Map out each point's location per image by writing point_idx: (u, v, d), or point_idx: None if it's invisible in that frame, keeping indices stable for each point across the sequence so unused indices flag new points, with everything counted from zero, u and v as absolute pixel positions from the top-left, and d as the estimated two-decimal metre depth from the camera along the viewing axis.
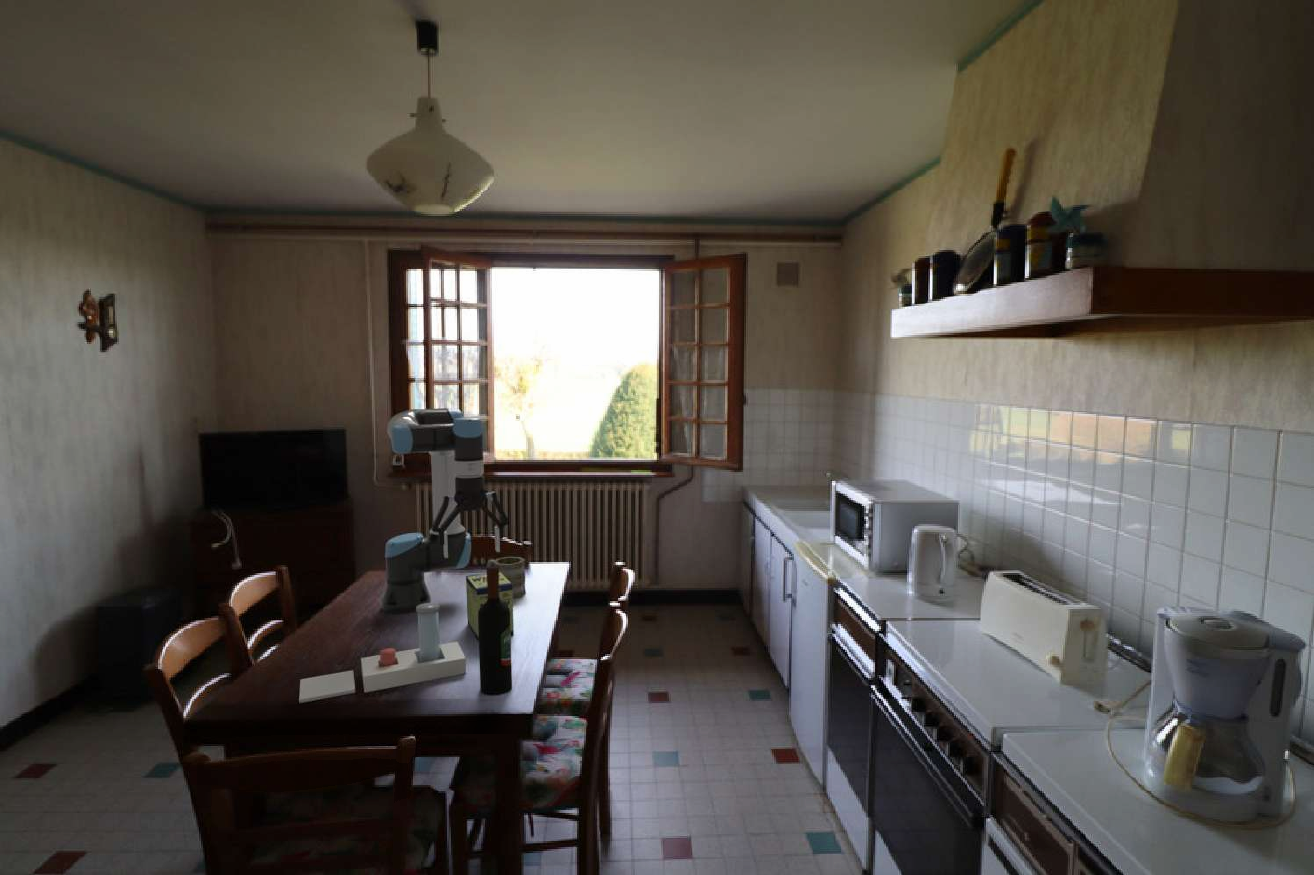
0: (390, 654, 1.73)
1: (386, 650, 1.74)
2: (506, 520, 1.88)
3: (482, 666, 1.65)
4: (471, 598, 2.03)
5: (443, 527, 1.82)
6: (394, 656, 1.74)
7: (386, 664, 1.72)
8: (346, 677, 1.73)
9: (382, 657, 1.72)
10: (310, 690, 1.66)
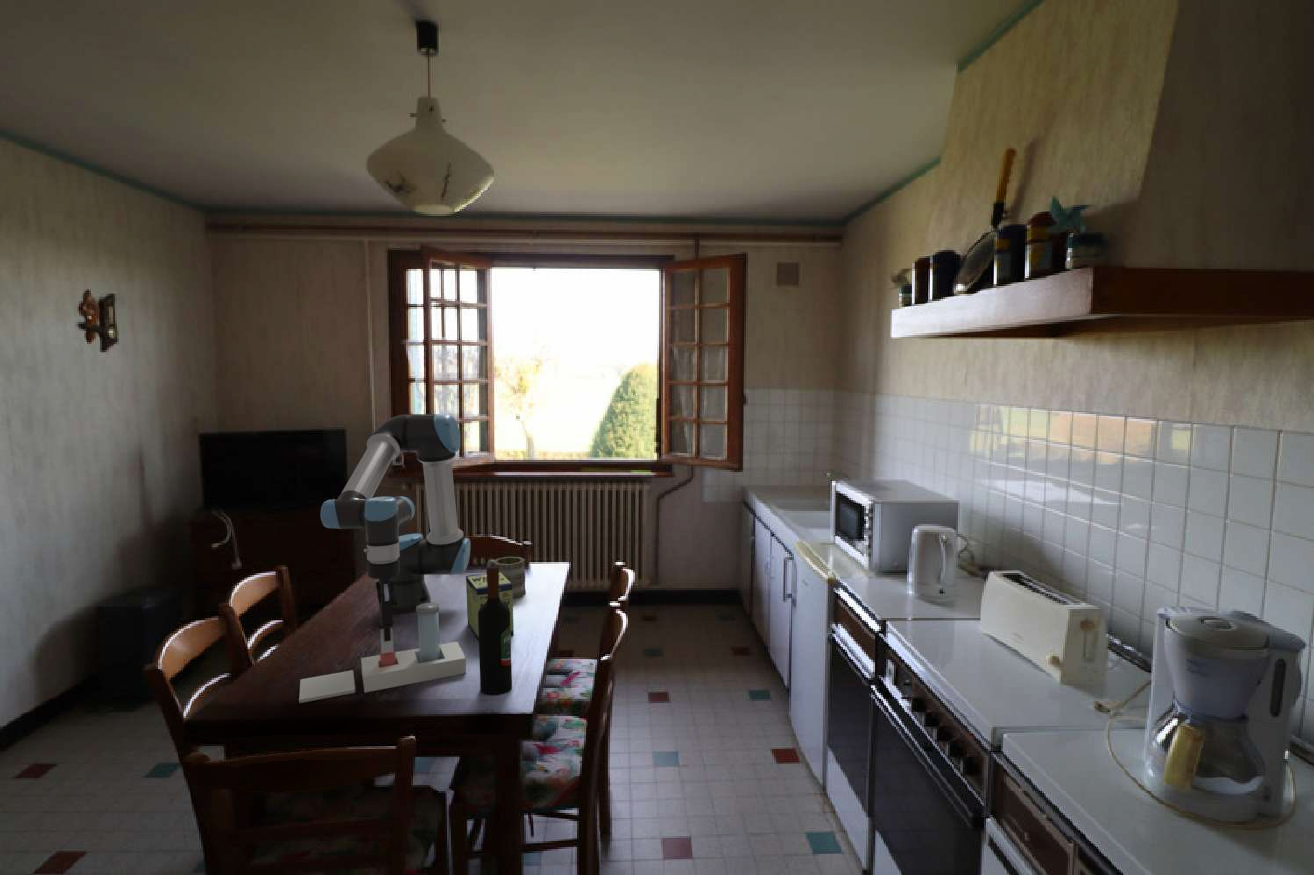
0: (390, 655, 1.73)
1: None
2: (382, 623, 1.70)
3: (482, 666, 1.65)
4: (471, 598, 2.03)
5: (380, 618, 1.74)
6: (394, 658, 1.74)
7: None
8: (346, 677, 1.73)
9: (382, 659, 1.72)
10: (310, 690, 1.66)
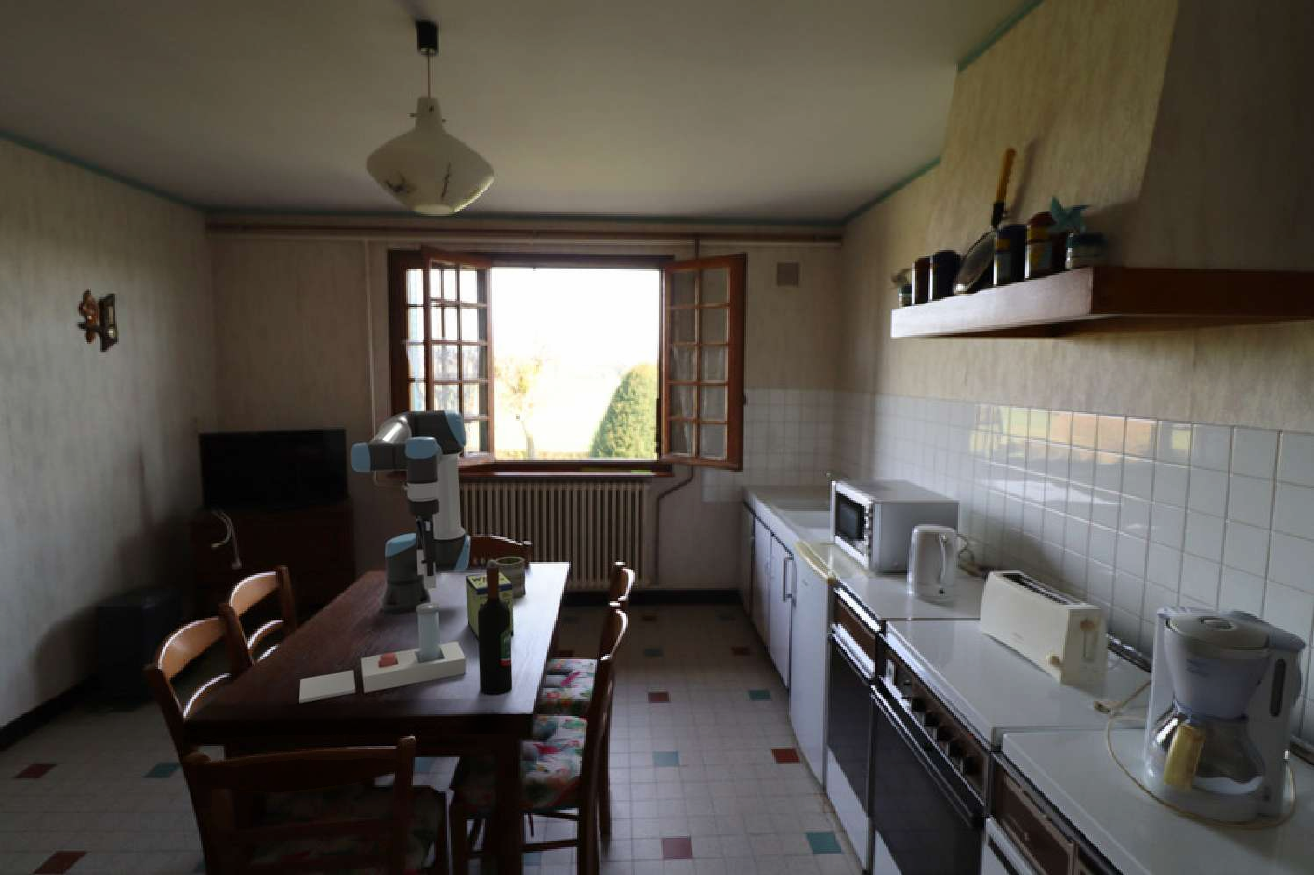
0: (391, 659, 1.73)
1: (387, 655, 1.74)
2: (425, 557, 1.67)
3: (482, 666, 1.65)
4: (471, 598, 2.03)
5: (417, 543, 1.82)
6: (394, 661, 1.74)
7: None
8: (346, 677, 1.73)
9: (382, 662, 1.73)
10: (310, 690, 1.66)
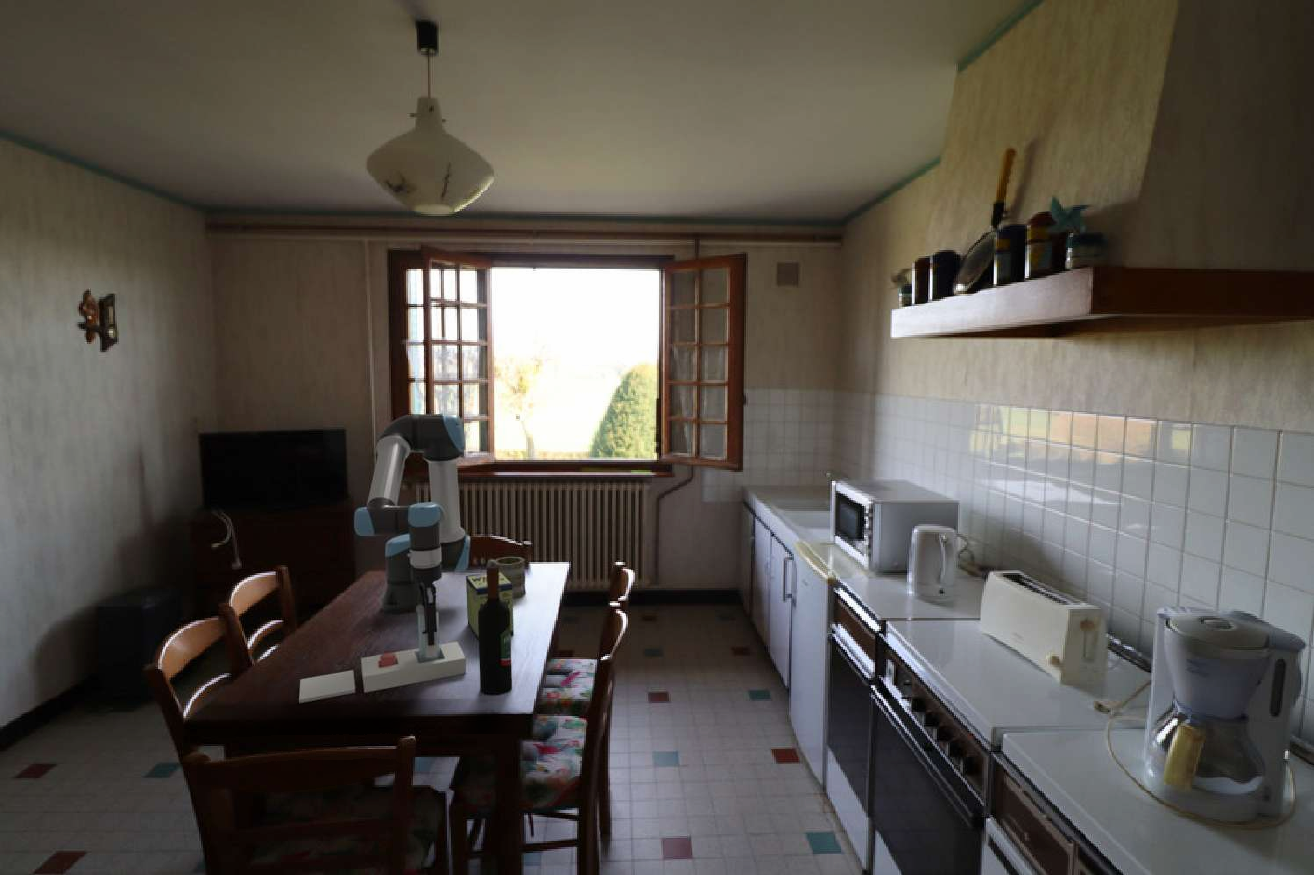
0: (391, 659, 1.73)
1: (387, 655, 1.74)
2: (426, 628, 1.72)
3: (482, 666, 1.65)
4: (471, 598, 2.03)
5: None
6: (394, 661, 1.74)
7: None
8: (346, 677, 1.73)
9: (382, 662, 1.73)
10: (310, 690, 1.66)
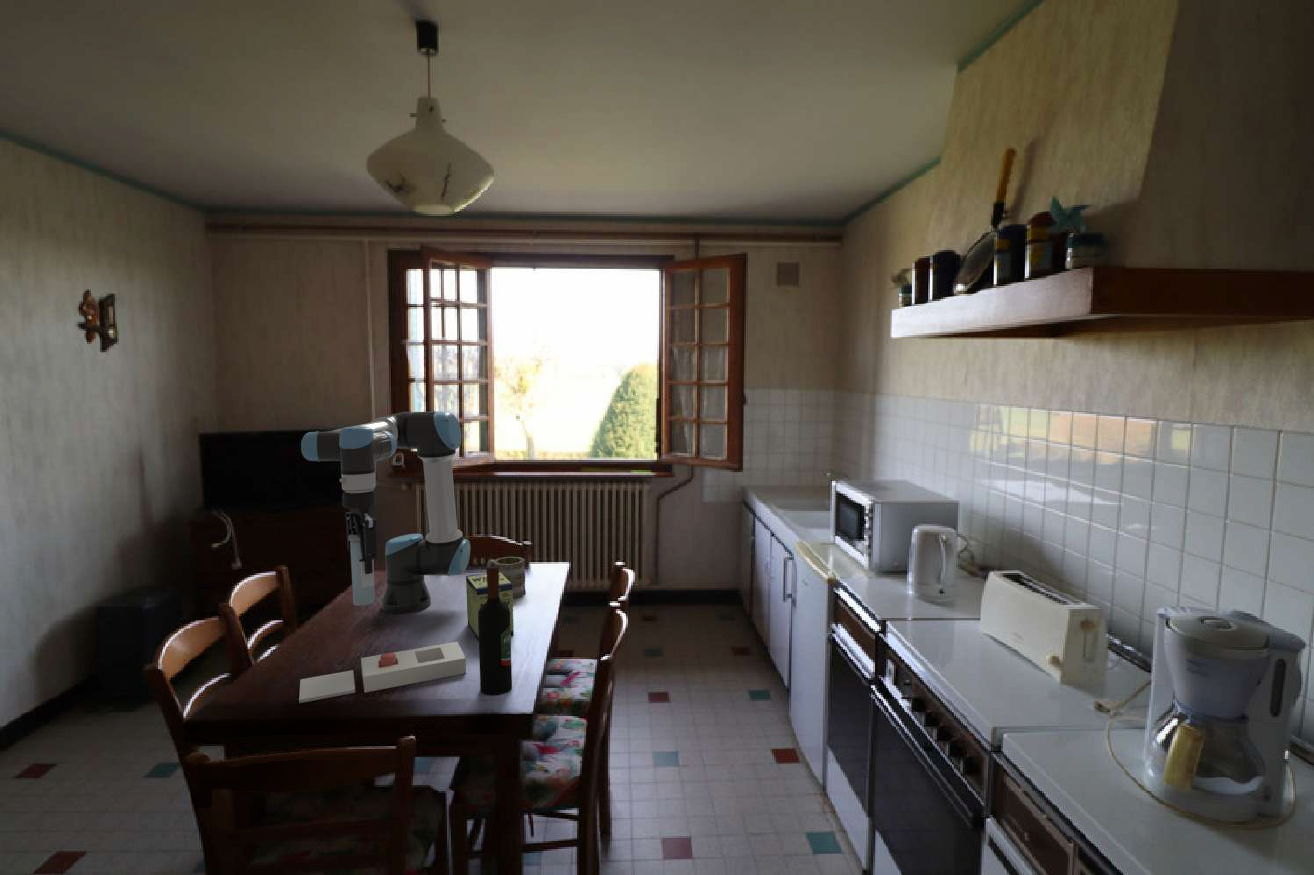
0: (391, 659, 1.73)
1: (387, 655, 1.74)
2: (365, 554, 1.65)
3: (482, 666, 1.65)
4: (471, 598, 2.03)
5: None
6: (394, 661, 1.74)
7: None
8: (346, 677, 1.73)
9: (382, 662, 1.73)
10: (310, 690, 1.66)
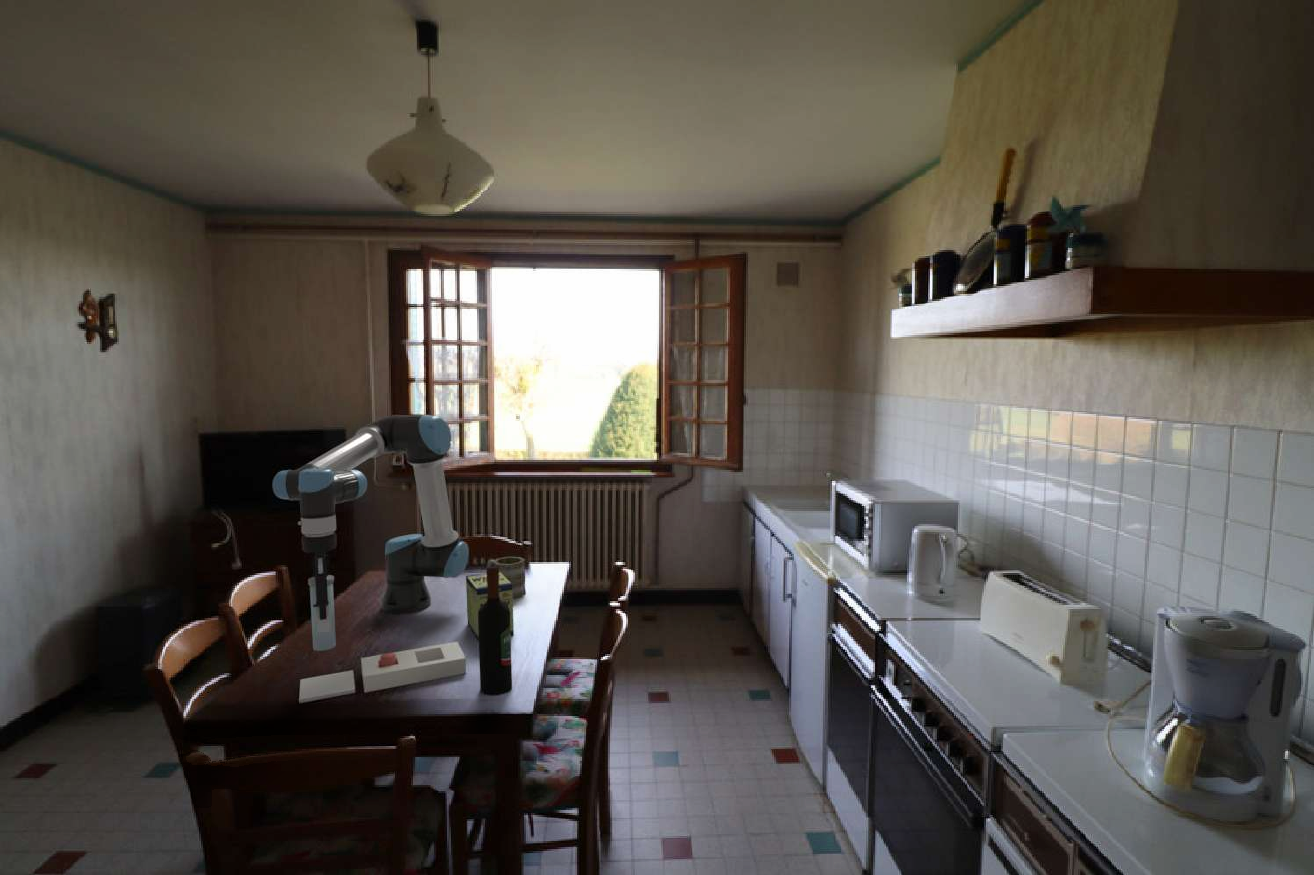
0: (391, 659, 1.73)
1: (387, 655, 1.74)
2: None
3: (482, 666, 1.65)
4: (471, 598, 2.03)
5: None
6: (394, 661, 1.74)
7: None
8: (346, 677, 1.73)
9: (382, 662, 1.73)
10: (310, 690, 1.66)
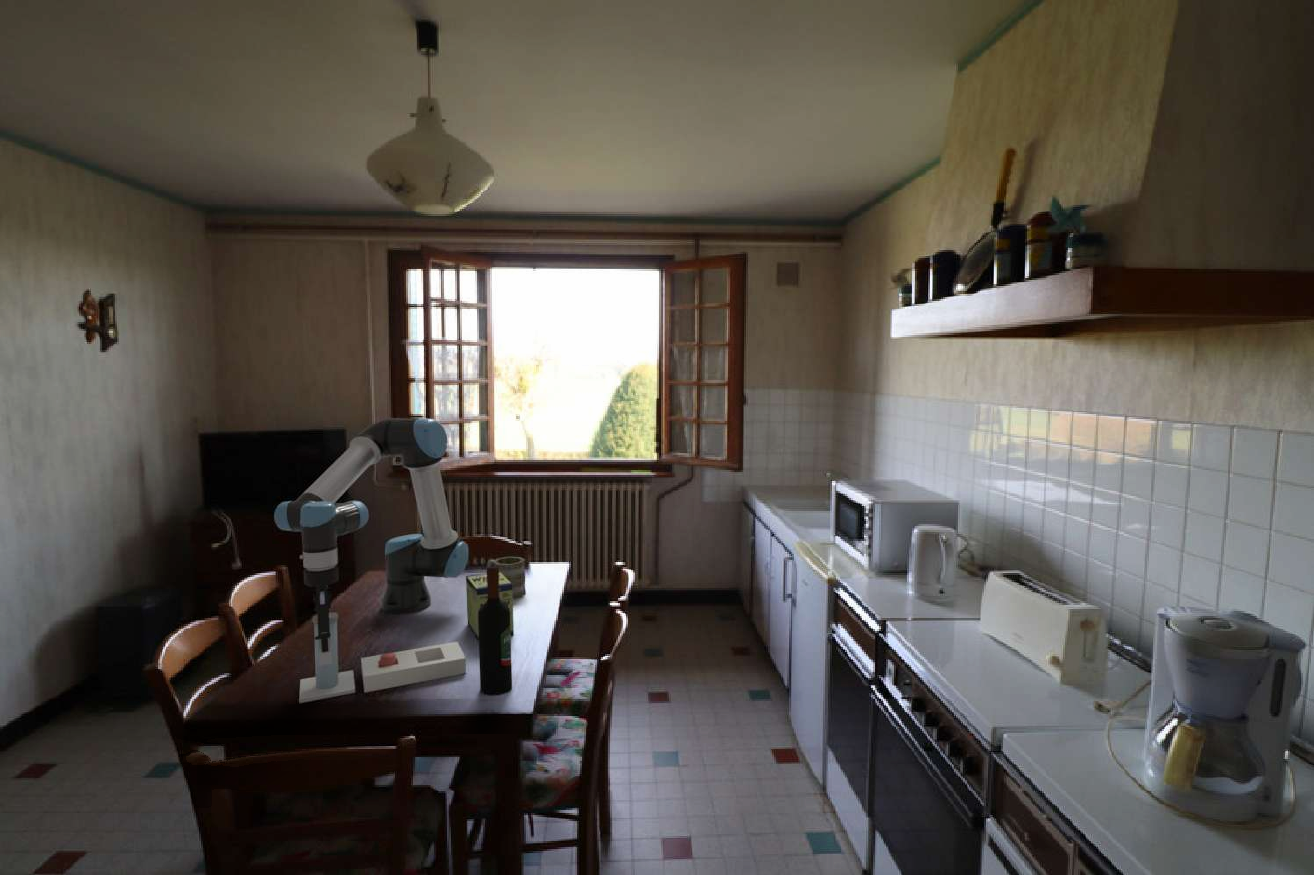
0: (391, 659, 1.73)
1: (387, 655, 1.74)
2: (318, 633, 1.60)
3: (482, 666, 1.65)
4: (471, 598, 2.03)
5: None
6: (394, 661, 1.74)
7: None
8: (346, 677, 1.73)
9: (382, 662, 1.73)
10: (310, 690, 1.66)
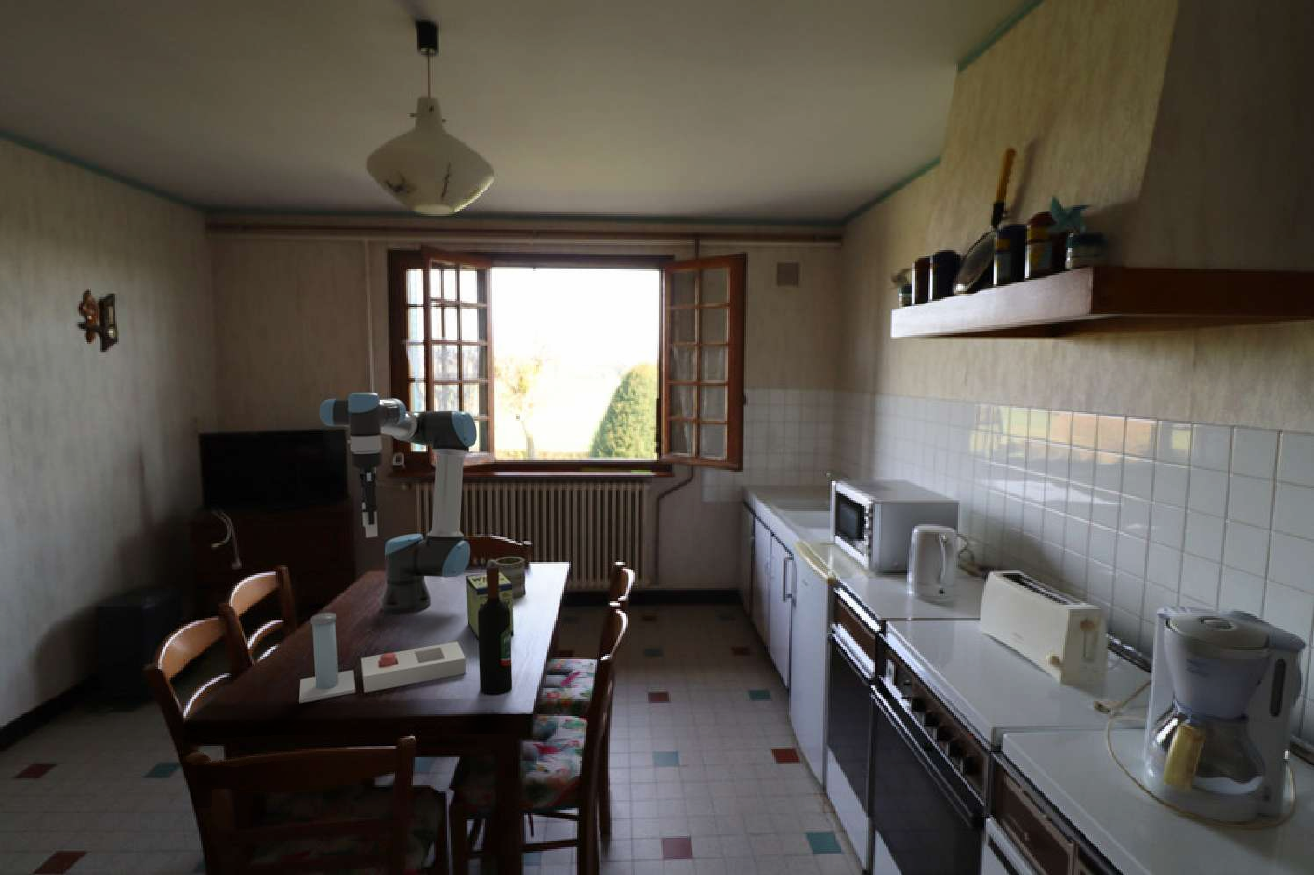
0: (391, 659, 1.73)
1: (387, 655, 1.74)
2: (365, 506, 1.74)
3: (482, 666, 1.65)
4: (471, 598, 2.03)
5: (362, 496, 1.89)
6: (394, 661, 1.74)
7: None
8: (346, 677, 1.73)
9: (382, 662, 1.73)
10: (310, 690, 1.66)
